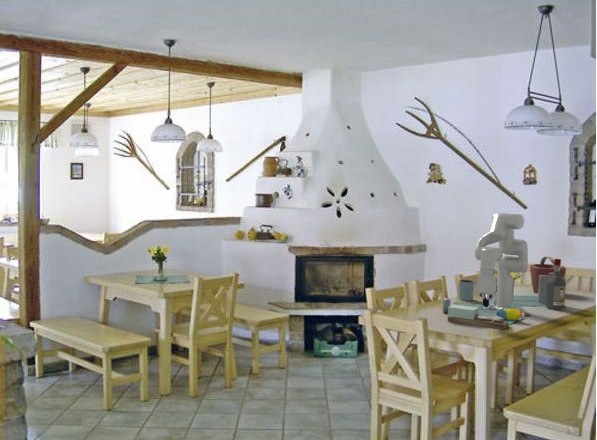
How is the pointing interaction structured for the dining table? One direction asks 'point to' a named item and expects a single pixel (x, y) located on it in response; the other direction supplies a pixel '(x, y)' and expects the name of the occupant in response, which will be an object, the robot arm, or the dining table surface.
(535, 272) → the bucket
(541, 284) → the hip flask
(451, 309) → the cover
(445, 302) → the pin
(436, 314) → the dining table surface
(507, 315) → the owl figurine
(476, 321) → the pin board
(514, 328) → the dining table surface
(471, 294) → the drinking glass
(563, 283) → the liquor
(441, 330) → the dining table surface
